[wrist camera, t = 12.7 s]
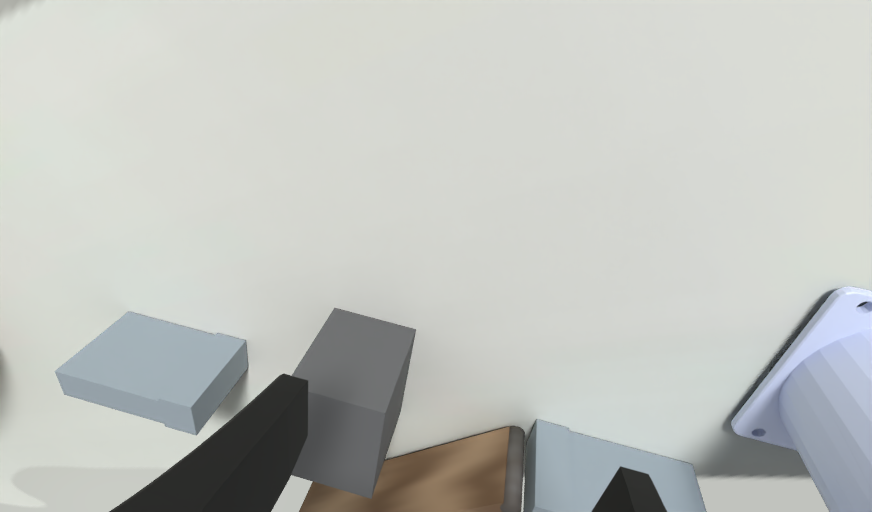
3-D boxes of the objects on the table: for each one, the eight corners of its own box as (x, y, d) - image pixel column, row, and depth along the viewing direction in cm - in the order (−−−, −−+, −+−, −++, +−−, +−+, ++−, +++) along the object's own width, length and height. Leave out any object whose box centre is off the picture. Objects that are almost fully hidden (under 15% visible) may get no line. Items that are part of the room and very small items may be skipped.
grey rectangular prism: (416, 328, 22) (385, 413, 18) (400, 410, 25) (371, 498, 21) (335, 306, 22) (285, 385, 18) (330, 390, 25) (287, 473, 21)
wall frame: (694, 461, 22) (724, 560, 19) (676, 485, 23) (701, 582, 20) (127, 308, 25) (53, 368, 21) (135, 335, 26) (65, 397, 22)
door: (518, 423, 23) (513, 500, 20) (528, 436, 23) (525, 514, 20) (313, 480, 29) (283, 545, 26) (323, 489, 30) (295, 555, 26)
